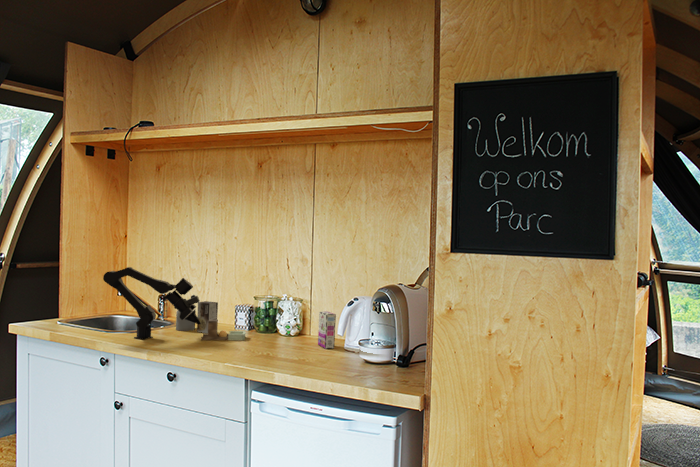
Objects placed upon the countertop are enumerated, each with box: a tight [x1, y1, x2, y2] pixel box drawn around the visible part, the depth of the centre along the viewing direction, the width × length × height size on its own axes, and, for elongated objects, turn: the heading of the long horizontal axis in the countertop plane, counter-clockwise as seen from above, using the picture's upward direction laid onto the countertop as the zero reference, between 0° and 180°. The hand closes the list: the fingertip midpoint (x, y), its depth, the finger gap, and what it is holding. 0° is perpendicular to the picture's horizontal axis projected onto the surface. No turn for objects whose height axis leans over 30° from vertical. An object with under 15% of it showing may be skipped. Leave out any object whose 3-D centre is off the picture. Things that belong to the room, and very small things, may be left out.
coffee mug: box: [175, 309, 197, 332], centre depth 290 cm, size 13×10×10 cm
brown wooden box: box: [208, 318, 219, 337], centre depth 264 cm, size 4×6×9 cm
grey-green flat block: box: [227, 330, 246, 341], centre depth 266 cm, size 8×9×3 cm
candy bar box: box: [317, 311, 337, 350], centre depth 253 cm, size 11×5×16 cm, turn 22°
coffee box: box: [196, 300, 219, 334], centre depth 282 cm, size 9×6×16 cm
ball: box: [218, 330, 228, 337], centre depth 265 cm, size 4×4×4 cm
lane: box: [200, 333, 229, 341], centre depth 264 cm, size 13×9×2 cm
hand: (199, 323), depth 263 cm, fingers closed
